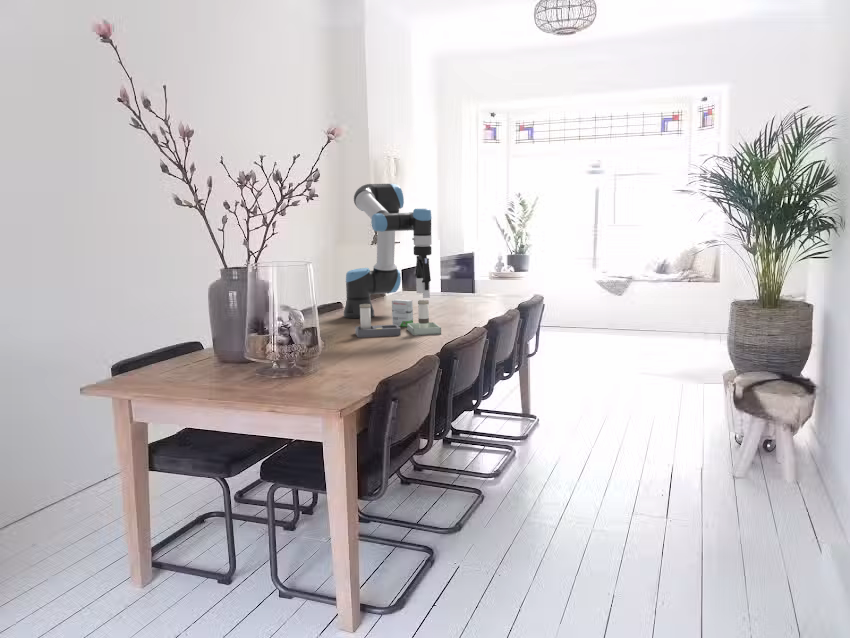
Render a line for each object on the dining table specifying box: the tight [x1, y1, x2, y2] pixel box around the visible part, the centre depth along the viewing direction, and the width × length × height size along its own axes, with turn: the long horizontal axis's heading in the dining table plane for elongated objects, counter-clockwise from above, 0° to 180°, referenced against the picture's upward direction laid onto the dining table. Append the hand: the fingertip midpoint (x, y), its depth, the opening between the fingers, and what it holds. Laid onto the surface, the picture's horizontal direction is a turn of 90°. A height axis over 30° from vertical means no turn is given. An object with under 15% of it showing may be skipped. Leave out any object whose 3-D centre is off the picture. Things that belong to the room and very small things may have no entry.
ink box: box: [391, 298, 414, 328], centre depth 318 cm, size 9×5×12 cm, turn 60°
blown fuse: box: [417, 299, 430, 328], centre depth 302 cm, size 5×5×13 cm
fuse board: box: [354, 324, 402, 338], centre depth 299 cm, size 10×18×3 cm, turn 102°
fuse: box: [359, 303, 372, 329], centre depth 297 cm, size 5×5×13 cm
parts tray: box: [406, 321, 442, 336], centre depth 303 cm, size 14×12×3 cm
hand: (422, 295), depth 301 cm, fingers open, 13 cm apart
